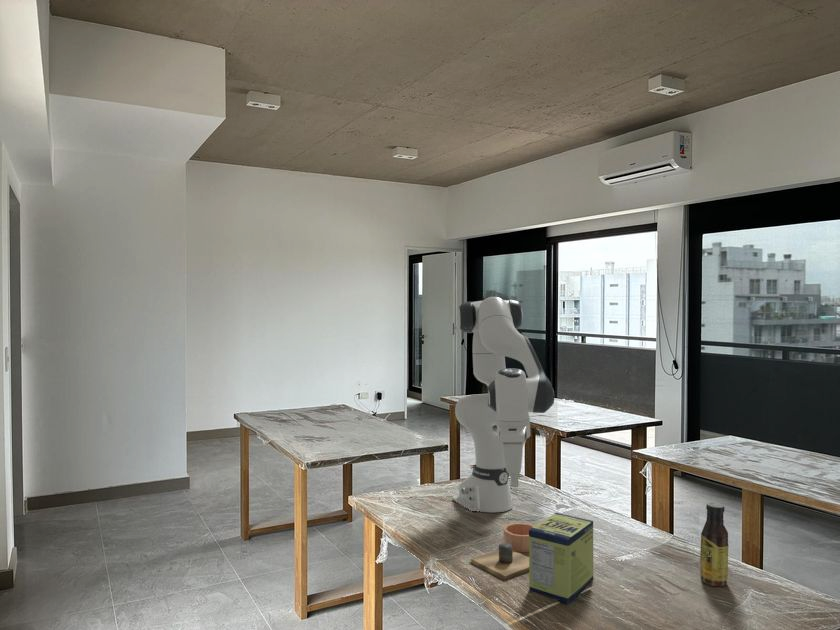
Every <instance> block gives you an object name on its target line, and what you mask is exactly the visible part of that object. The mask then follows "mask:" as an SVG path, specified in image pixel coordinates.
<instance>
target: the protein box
mask: <svg viewBox="0 0 840 630" xmlns="http://www.w3.org/2000/svg"><path fill="white" fill-rule="evenodd" d="M533 526H534V527H532V528H531V529H530V530H529V552H528V557H529V573H528V577H529V579H528V580H529V583H528V585H529V588H528V590H529V591H530V592H533V593H537V594H538V595H539V594H540V595H543V596H546V597H548V598H551V599H554V600H555V599H556V600H557V602H559V603H563V604H566V605H569V604H570V603H572V602H573V600H575V599H576V598H577V597H578V596H579V595H580V594H581V593H582V592H584V591H585V590H586V587H587V586H588V585H589V584H591V582H592V581H593V580H594V520H590V519H585V518H582V517H577V516H572V515H569V514H568V515H567V514H564V513H560V512H559V513H558V512H555V513H553V514H552V515H550V516H549V517H547V518H546V519H545V518H544V520H542V521H541V522H539V523H537V524H536V525H533Z"/></svg>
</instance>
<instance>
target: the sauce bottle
mask: <svg viewBox="0 0 840 630" xmlns="http://www.w3.org/2000/svg"><path fill="white" fill-rule="evenodd" d="M705 509H706V521H705V523H704V526H703V528H702V530H701V533H700V554H699V555H700V557H699V559H700V561H699V574H700V580H701V581H702V582H703V583H704V584H706V585H708V586H710V587H711V586H712V587H725V586H726V585H727V583H728V578H729V577H728V574H729V573H728V572H729V571H728V570H729V569H728V568H729V533H728V529H727V528H726V526H725V524H724V522H725V521H724V512H725V505H724V504H722V503H720V502H718V501H717V502H715V501H710V502H709V501H708V502H707V503H706V507H705Z"/></svg>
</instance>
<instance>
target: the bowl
mask: <svg viewBox="0 0 840 630" xmlns="http://www.w3.org/2000/svg"><path fill="white" fill-rule="evenodd" d="M534 526H535V525H533V524H530V523H525V522H515V523H510V524H507V525H505V526H504V527H503V530H502V531H503V533H502V535H503V539H502V540H503V543H508V544H511V545H512V548H513V550H514V551H516V552H518V553H526V552H527V553H529V530H530V529H531V528H532V527H534Z"/></svg>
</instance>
